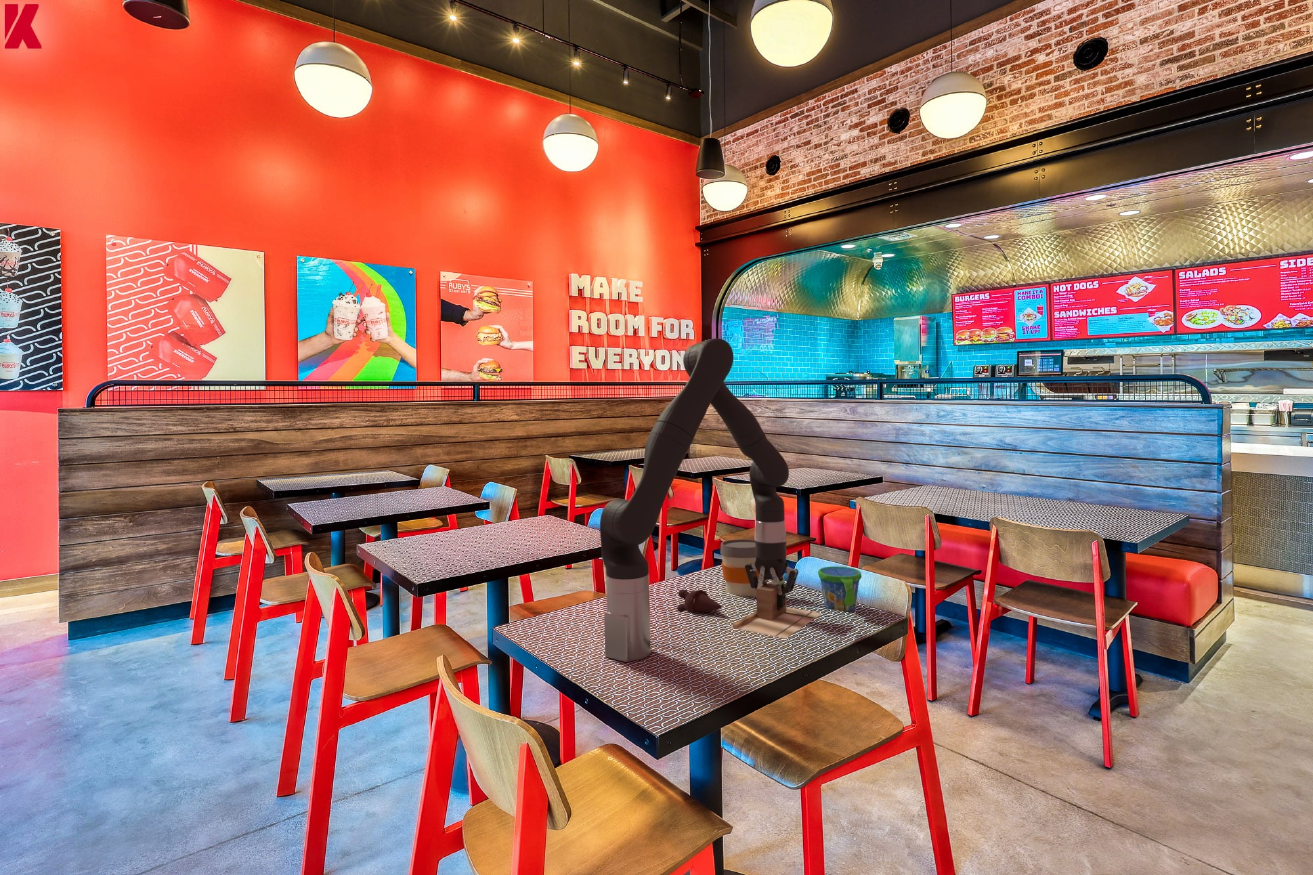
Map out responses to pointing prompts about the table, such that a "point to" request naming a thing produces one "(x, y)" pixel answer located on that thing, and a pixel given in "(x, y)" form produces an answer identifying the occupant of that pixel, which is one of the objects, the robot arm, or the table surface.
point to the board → (777, 623)
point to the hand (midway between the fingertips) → (771, 607)
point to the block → (768, 602)
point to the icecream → (697, 602)
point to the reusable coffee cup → (738, 565)
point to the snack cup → (839, 587)
